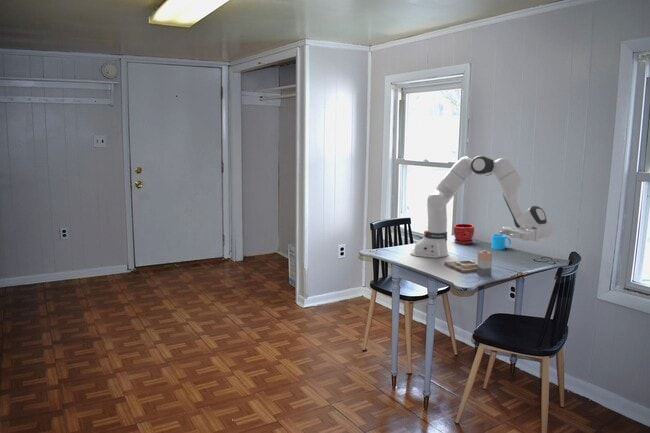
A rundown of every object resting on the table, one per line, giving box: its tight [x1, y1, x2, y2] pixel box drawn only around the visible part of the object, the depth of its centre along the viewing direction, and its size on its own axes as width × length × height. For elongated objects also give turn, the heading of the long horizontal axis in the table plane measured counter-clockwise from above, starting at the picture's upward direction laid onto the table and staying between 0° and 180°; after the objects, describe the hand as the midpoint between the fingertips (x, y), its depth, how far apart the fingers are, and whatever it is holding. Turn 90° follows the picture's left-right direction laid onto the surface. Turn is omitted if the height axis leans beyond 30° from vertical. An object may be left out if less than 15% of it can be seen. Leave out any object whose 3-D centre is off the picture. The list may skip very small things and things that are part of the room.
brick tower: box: [476, 249, 493, 277], centre depth 270 cm, size 5×5×13 cm
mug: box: [491, 233, 512, 251], centre depth 329 cm, size 12×8×8 cm
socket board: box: [443, 259, 478, 274], centre depth 285 cm, size 18×18×3 cm
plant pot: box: [453, 223, 475, 245], centre depth 345 cm, size 13×13×12 cm
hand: (505, 234), depth 272 cm, fingers open, 8 cm apart
